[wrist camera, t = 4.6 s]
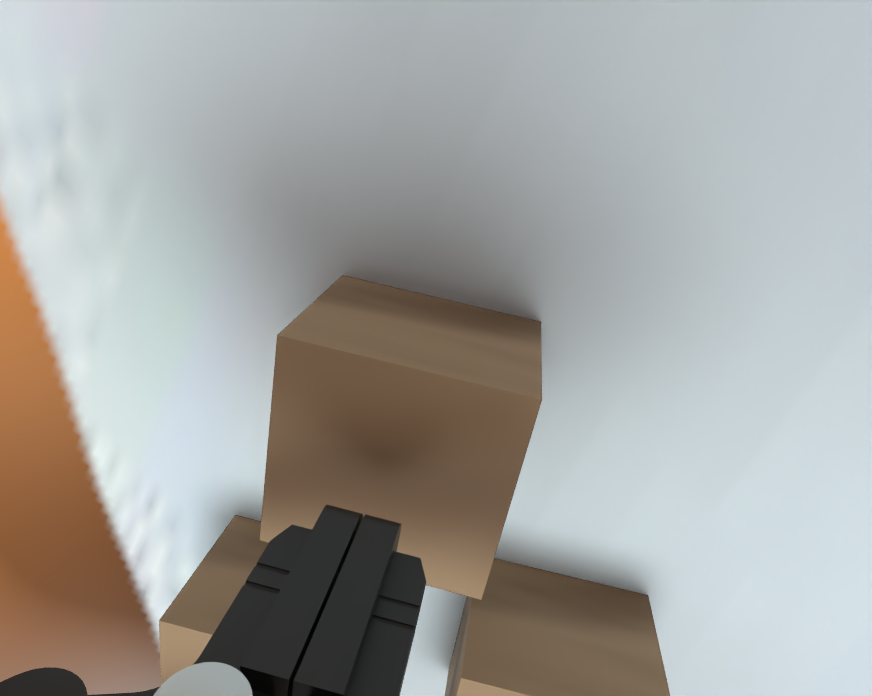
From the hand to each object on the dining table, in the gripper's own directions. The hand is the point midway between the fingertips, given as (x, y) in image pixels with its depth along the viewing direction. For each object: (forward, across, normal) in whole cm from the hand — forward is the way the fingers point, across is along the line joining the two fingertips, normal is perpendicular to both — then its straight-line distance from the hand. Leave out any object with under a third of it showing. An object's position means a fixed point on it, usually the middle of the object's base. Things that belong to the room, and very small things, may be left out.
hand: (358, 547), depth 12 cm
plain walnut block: (+8, 0, 0) cm, 8 cm away
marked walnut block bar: (+8, -6, +9) cm, 14 cm away
